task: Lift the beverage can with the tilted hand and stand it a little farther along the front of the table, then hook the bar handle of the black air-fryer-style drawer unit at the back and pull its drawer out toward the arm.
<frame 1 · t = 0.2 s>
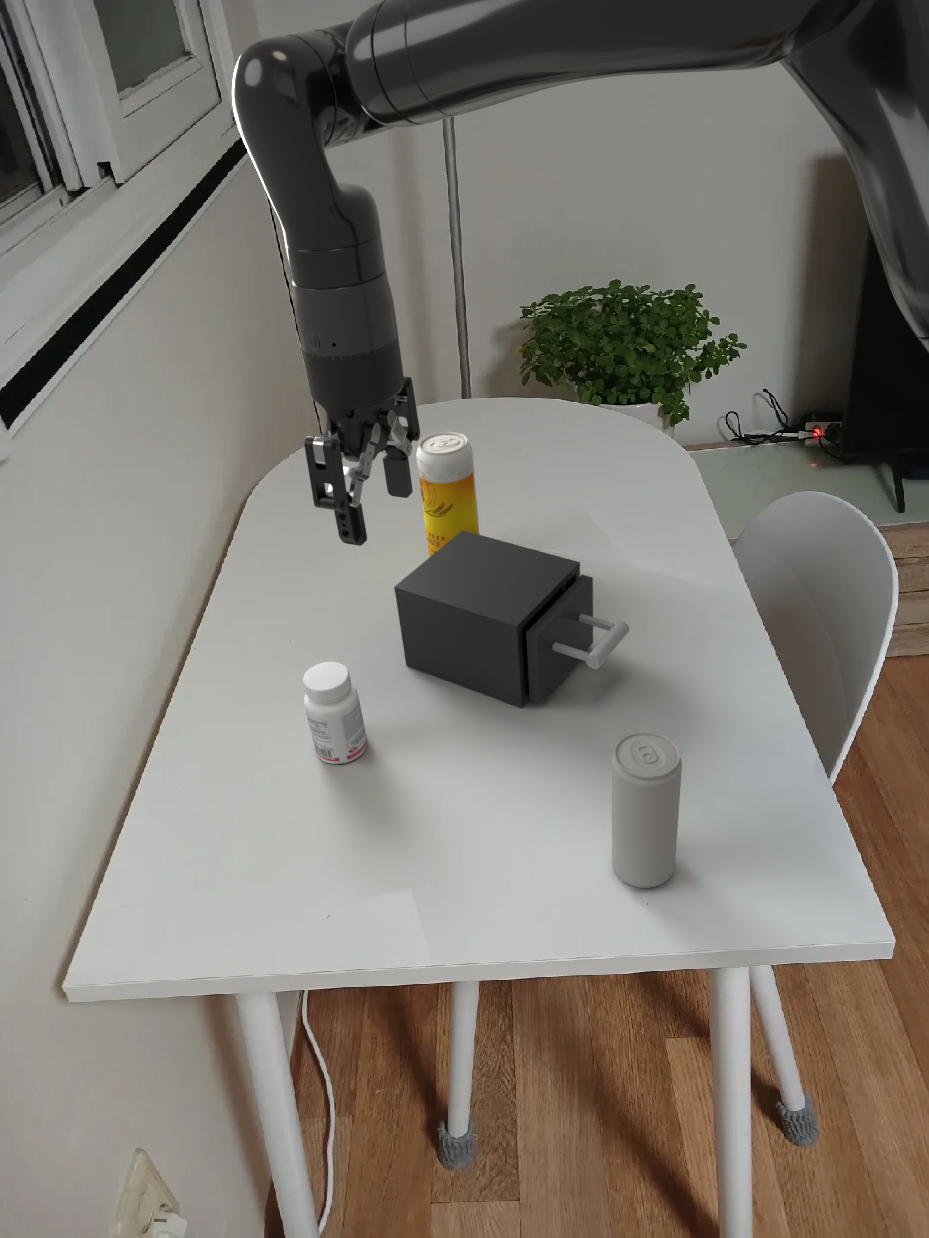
hand: (378, 518, 83), 19 cm above the table, tool pointing down, fingers open, 8 cm apart
drawer: (532, 628, 91), point 5 cm above the table, slide at 0.5 cm
beer can: (455, 561, 111), on the table
beverage can: (642, 868, 73), on the table
pill bottle: (342, 748, 87), on the table
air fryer: (493, 653, 96), on the table
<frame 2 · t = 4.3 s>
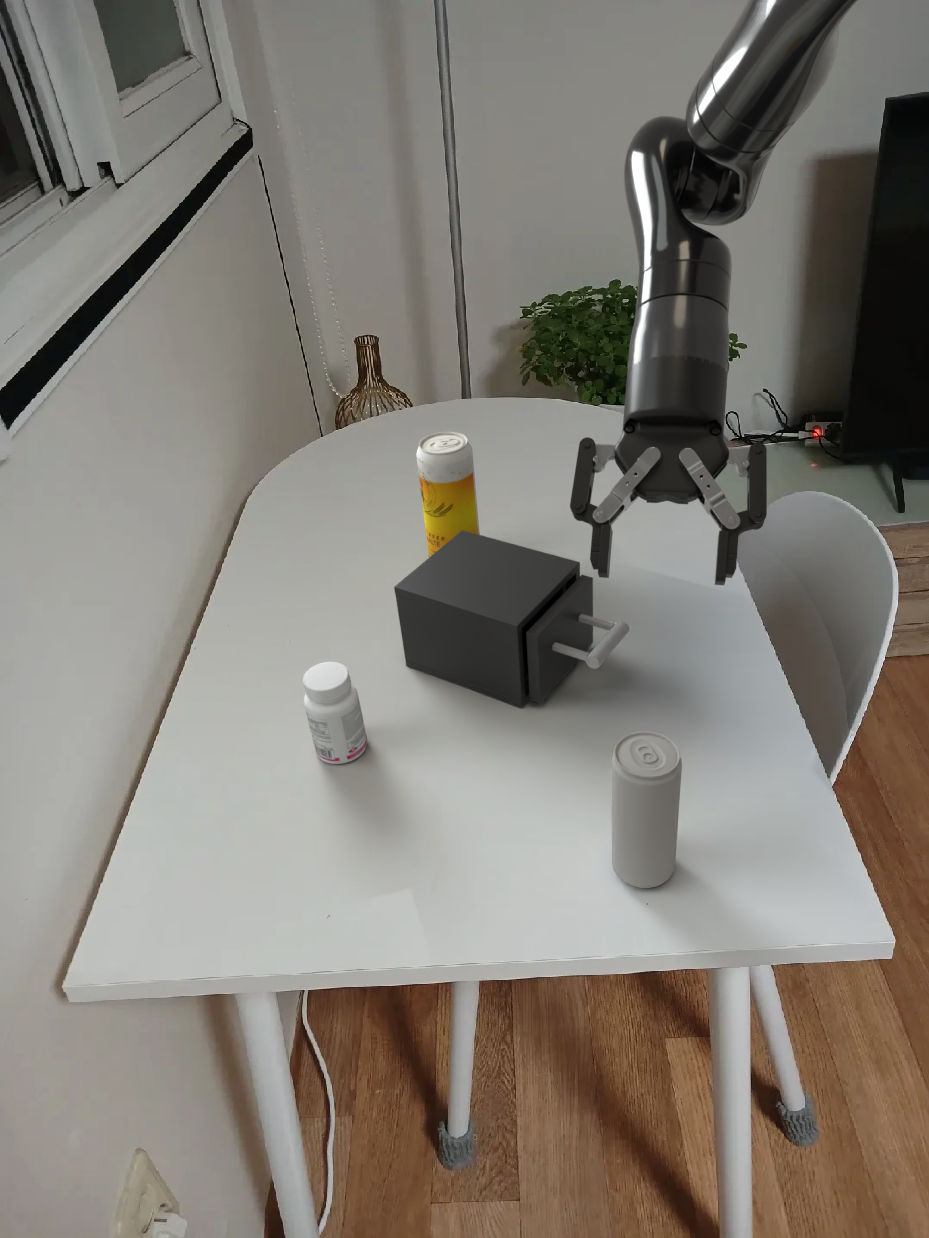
hand: (661, 579, 71), 19 cm above the table, tool tilted 45°, fingers open, 8 cm apart
nothing on the table moved.
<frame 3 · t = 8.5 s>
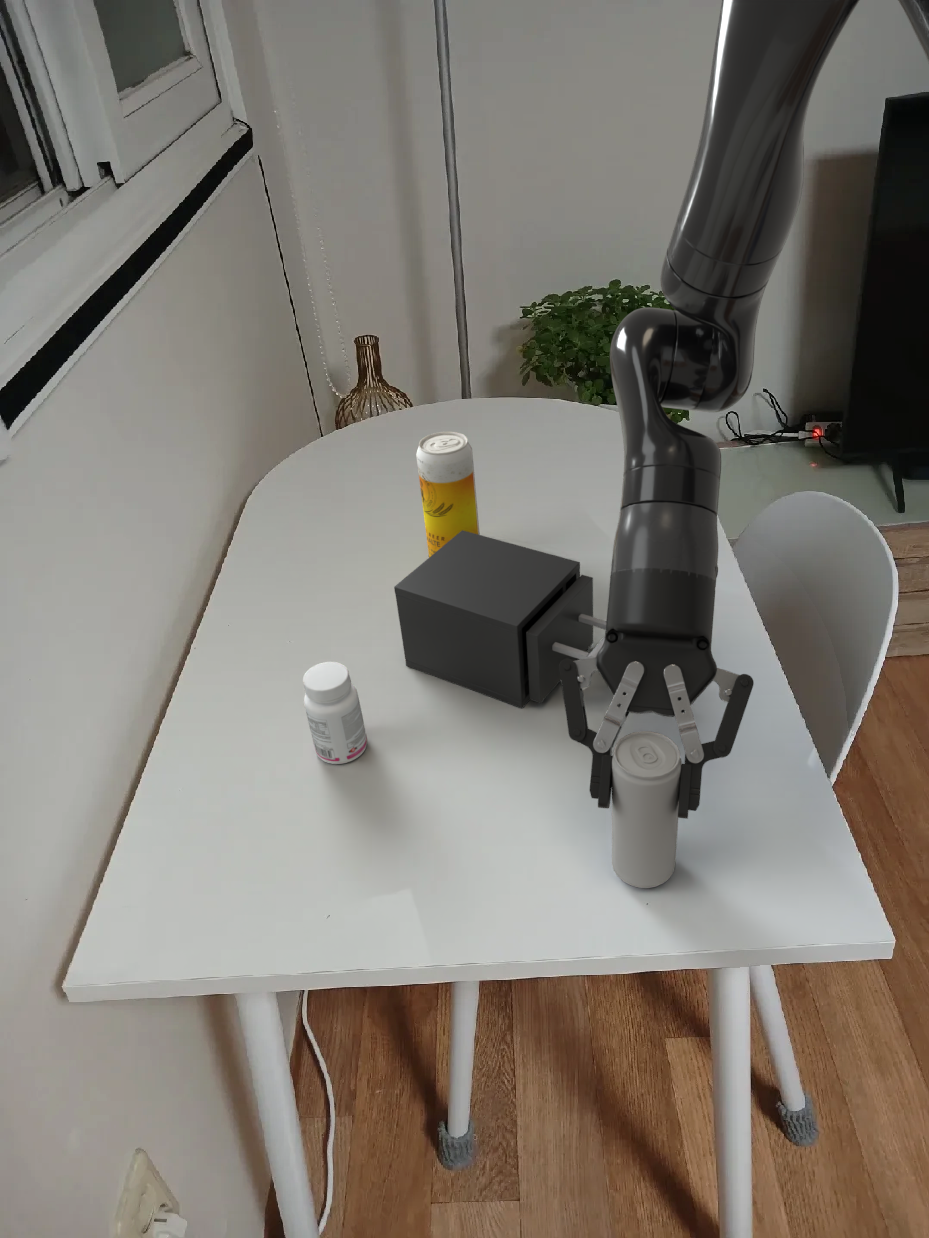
hand: (643, 811, 67), 8 cm above the table, tool tilted 45°, fingers closed on beverage can, 5 cm apart
beverage can: (642, 868, 73), on the table, touching gripper
everything else where it was.
when the fingers open (8 cm above the table, at t = 15.8 s): beverage can stays where it is, on the table.
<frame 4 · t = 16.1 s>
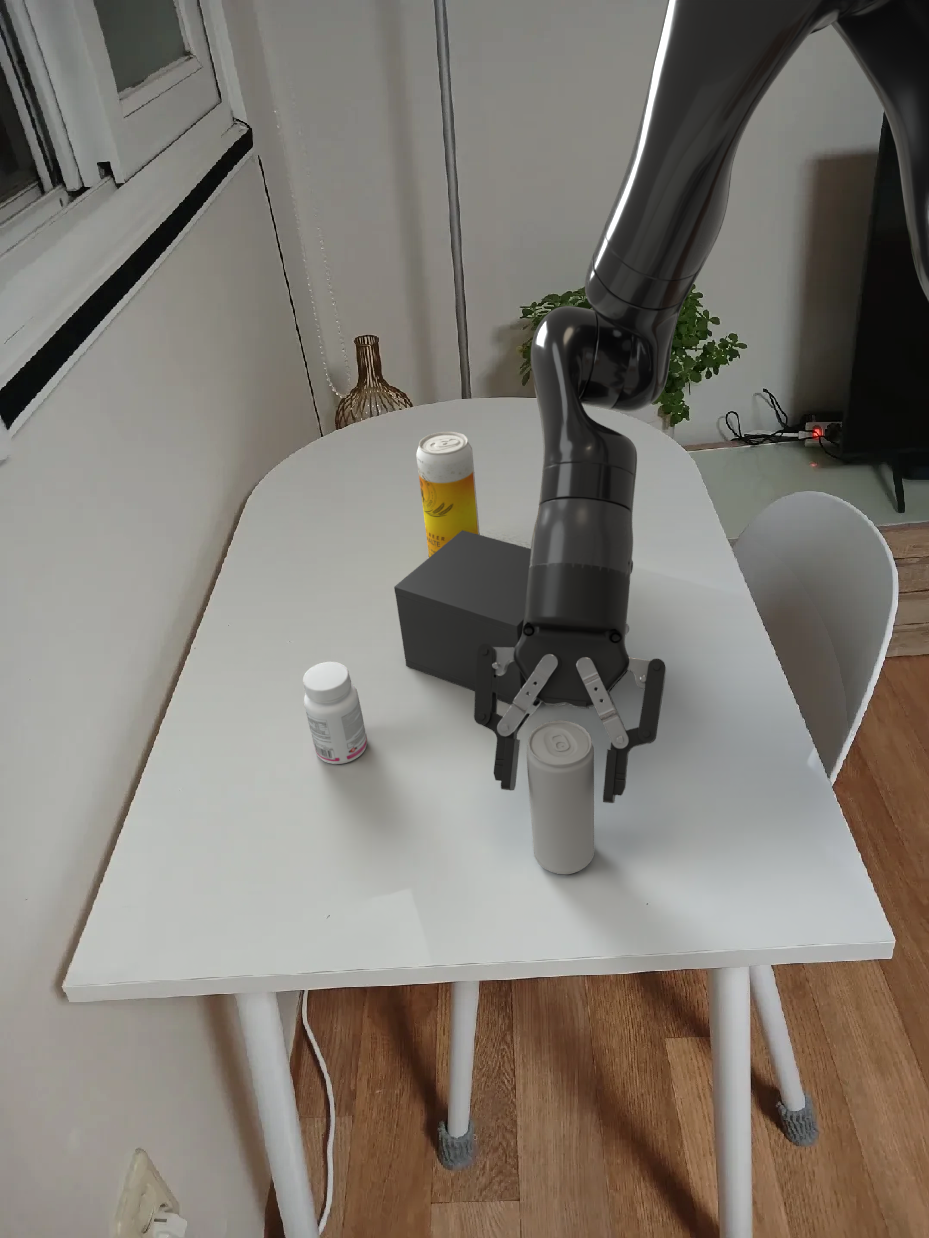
hand: (558, 795, 68), 8 cm above the table, tool tilted 45°, fingers open, 6 cm apart
beverage can: (563, 855, 75), on the table
everything else where it was.
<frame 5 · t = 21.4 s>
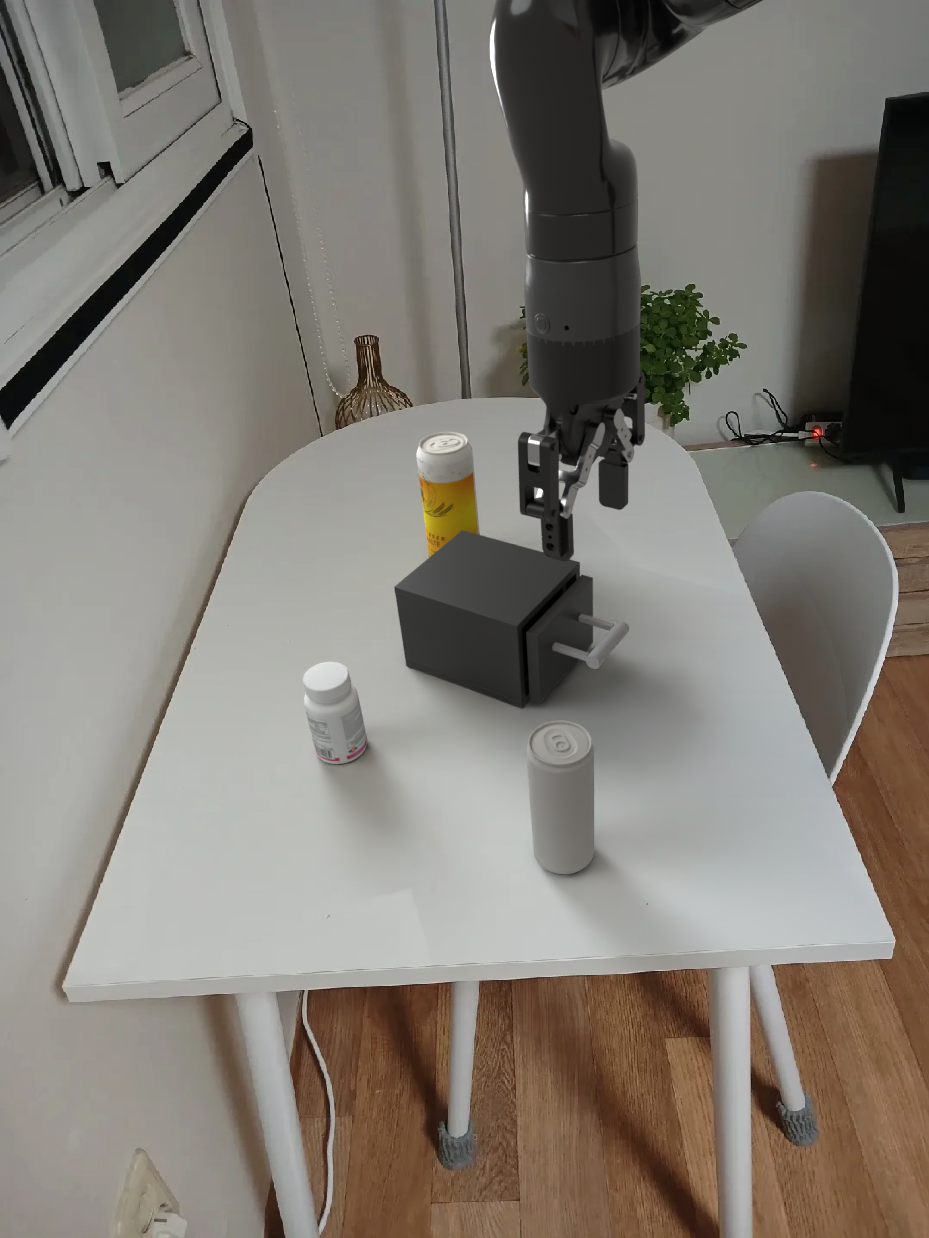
hand: (587, 530, 72), 22 cm above the table, tool pointing down, fingers open, 8 cm apart
nothing on the table moved.
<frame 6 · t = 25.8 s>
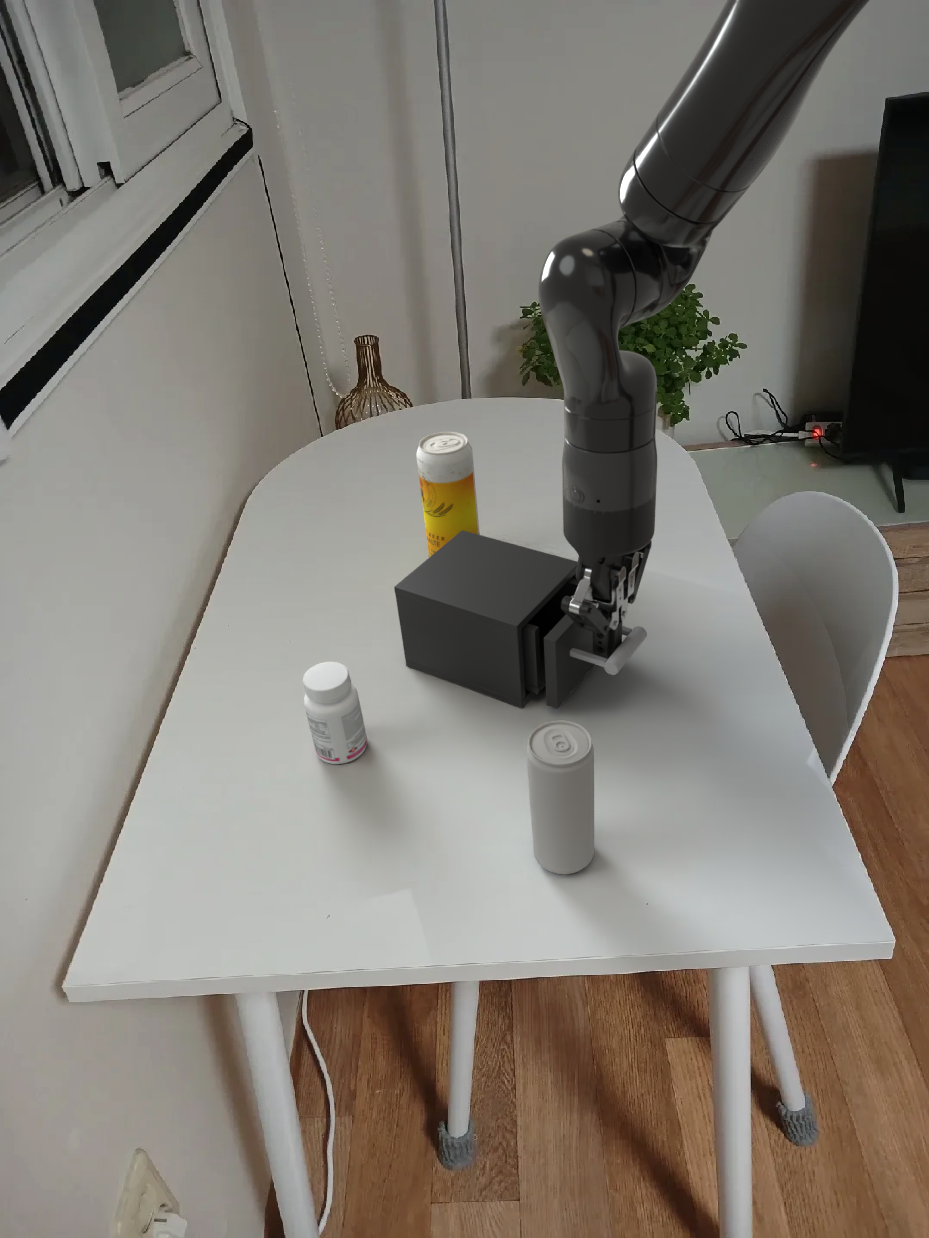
hand: (607, 653, 87), 5 cm above the table, tool pointing down, fingers closed
drawer: (548, 633, 90), point 5 cm above the table, slide at 2.3 cm, touching gripper
everything else where it was.
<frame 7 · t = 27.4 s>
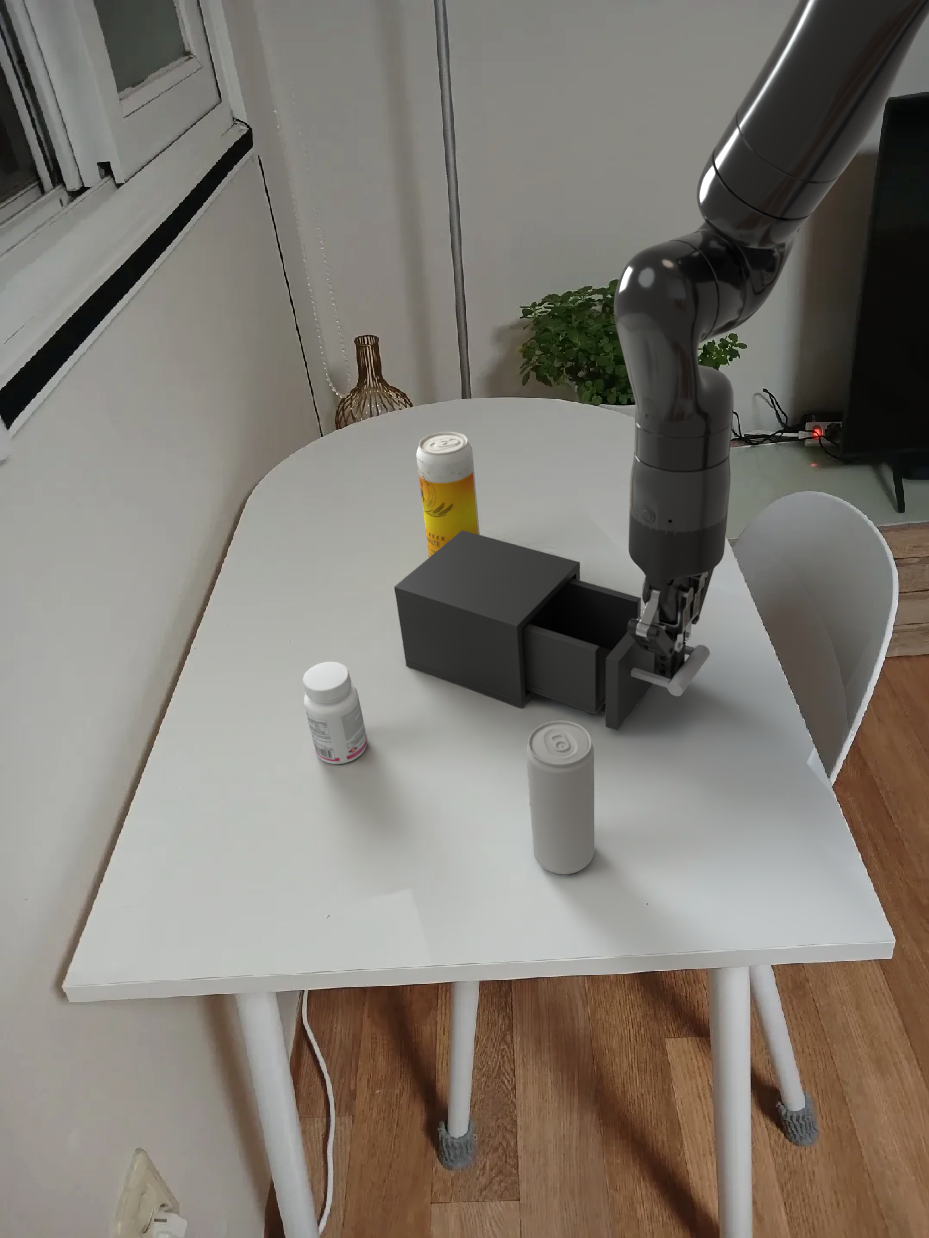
hand: (668, 675, 84), 4 cm above the table, tool pointing down, fingers closed
drawer: (605, 652, 87), point 5 cm above the table, slide at 8.3 cm, touching gripper
everything else where it was.
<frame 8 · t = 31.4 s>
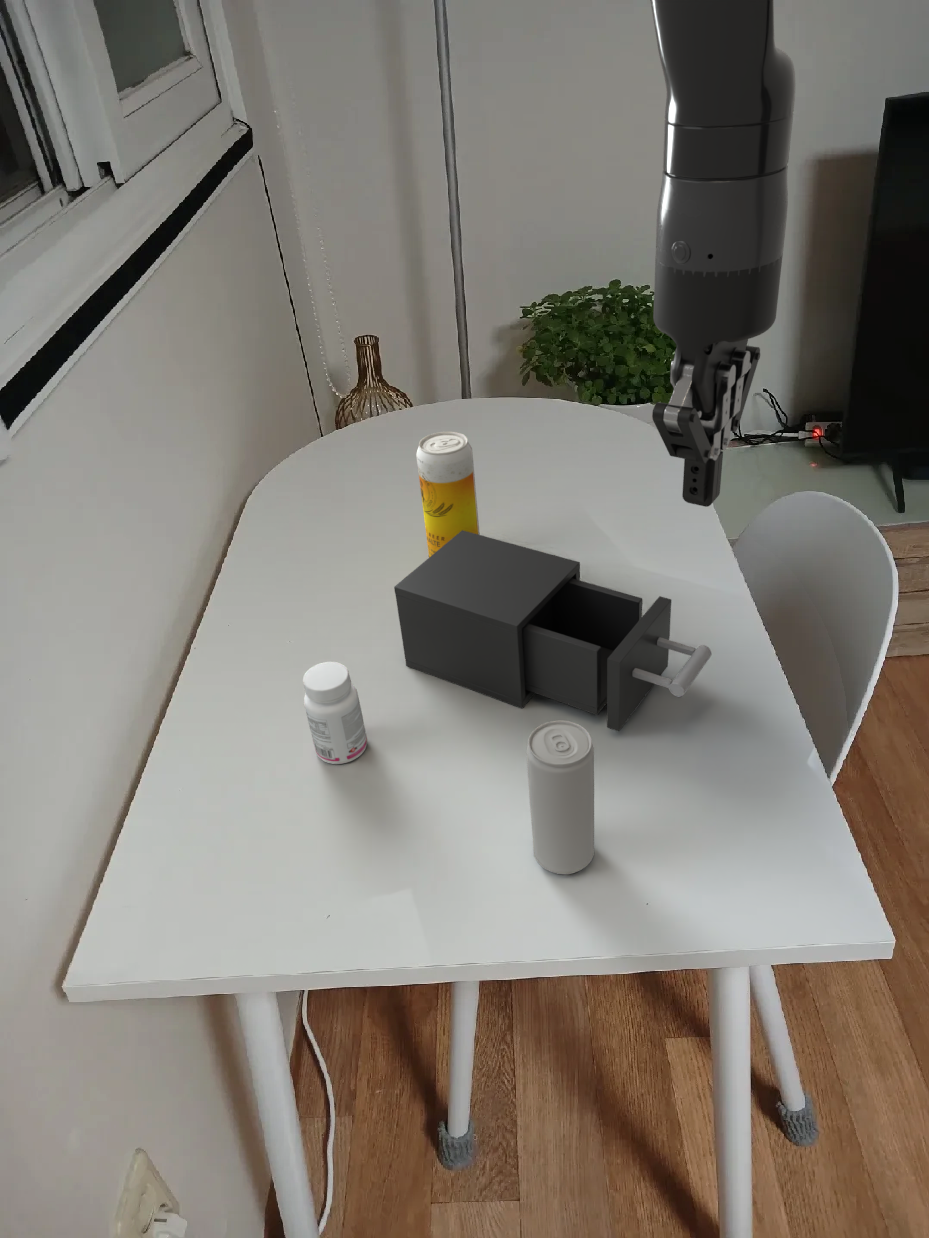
hand: (700, 499, 68), 25 cm above the table, tool pointing down, fingers closed
drawer: (607, 652, 87), point 5 cm above the table, slide at 8.5 cm
everything else where it was.
at the end: drawer slide at 8.5 cm; beverage can inside the target area (0.2 cm from its centre), on the table; beverage can tilted 0° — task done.
